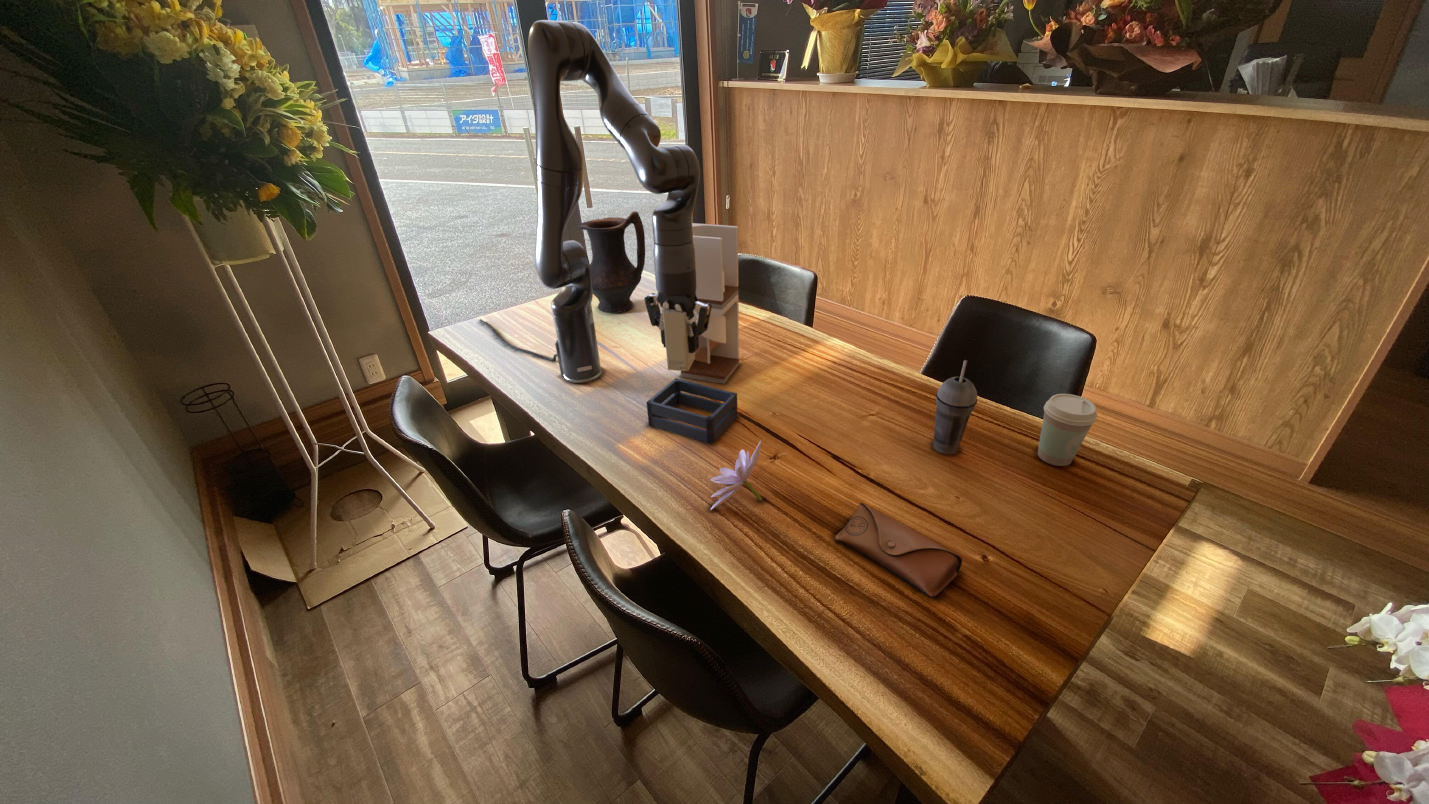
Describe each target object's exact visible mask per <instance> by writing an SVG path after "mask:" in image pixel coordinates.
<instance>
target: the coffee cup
mask: <svg viewBox="0 0 1429 804" xmlns="http://www.w3.org/2000/svg"><path fill="white" fill-rule="evenodd" d="M1043 411H1044V412H1043V419H1042V424H1041V429H1040V430H1041V431H1040V436H1039V442H1038V447H1037V448H1038V449H1037V456H1038V457H1039V459H1040V460H1042V461H1043V462H1045V463H1047V464H1049V465H1052V466H1058V467H1065V466H1069V465H1071V463H1072V462H1073V461H1074V458H1075V457H1076V455H1077V453H1078V451H1079V450H1080V448H1081V445H1082V444H1083V442H1084V440H1085V439H1086V437H1087V435H1088V433H1089V431H1090V430H1091V428H1092V426H1093V424H1095V423H1096V422H1097V419H1098V413H1097V406H1096V405H1095V403H1093V402H1092V401H1090V400H1089V399H1087V398H1085V397H1082V396H1080V395H1075V394H1070V393H1058V394H1057V393H1056V394H1054V395H1051V397H1050V398H1049V399H1048V400H1047V401H1046V402H1045V404H1044V405H1043Z"/></svg>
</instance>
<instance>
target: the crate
mask: <svg viewBox="0 0 1429 804" xmlns="http://www.w3.org/2000/svg"><path fill="white" fill-rule="evenodd" d="M680 404H681V405H685V406H687V407H692V408H695V409H699V410H703V411H706V412H710V413H712V414H711V415H708V416H707V415H703V414H699V413H697V412H692V411H688V410H684V409H681V408H677V407H676V406H677V405H680ZM646 412H647V419H648V426H649V427H653V428H655V429H659V430H662V431H666V432H669V433H673V434H676V435H679V436H683V437H685V438H689V439H692V440H696V441H700V442H703V443H707V444H709V445H713V444H714V443H715V441H717V439H718V438H720V436H721V435H722V434H723V433H724V432H725V431H726V430H727V428H729V426H730V425H731V424H732V423H734V421H735V420H736V419H737V418H738V392H732V391H729V390H725V389H721V388H717V387H712V386H710V385H704V384H701V383H697V382H693V381H689V380H685V379H682V378H676V377H675V378H674V379H673V380H671V381H670V382H669V383H668V384H667V385H666V386H664V387H662V389H660V390H659V391H658V392H657V393H656V394H654V395H653V396H652V397H650V399H648V400H647V401H646Z"/></svg>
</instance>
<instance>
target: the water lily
mask: <svg viewBox="0 0 1429 804" xmlns="http://www.w3.org/2000/svg"><path fill="white" fill-rule="evenodd" d="M761 447H762V440H760V441H759V442H758V445H757V446H756V448H755V450H754V451H753V452H752V455H751V457H750V454H749V451H747V452H746V451H745V449H741V450H740V451H739V453H738V455H737V459H736V460H735V462H734V469H732V468H729V467H720V468H719V472H720V474H719V475H716V476H714V477H712V478H710V481H712V482H713V483H715V484H719V485H729V486H725V487H723V488H721V489H719V490H717V491H715V492H714V493H713V494H712V495H711V496H710V498H715V497H719V496H720V497H719V498H718V499H717V500H716V501H715V503H714V504H713V505H712V506H711V507H710V510H709V511H712V510H714V509H715V508H717V507H719V506H721V505H723V504H724V503H726V502H727V501H728V500H730V498H731V497H733V496H734V495H735V494H736V493H737V492H738V491H739V490H740V489H741V488H742V487H743V485H745V486H746V487H747V488H748V489H749V490H750V491H751V492H752V494H753V495H754V496H755V497H756V499H757V500H758V501H759V502H761V501H763V497H762V496H761V495H760V493H759V492H757V490H756V489H755V488H754V487H753V486H752V485H751V484H750V483H749V482H748V481H747V480H749V478H750V477H751V475H752V474H753V472H754V469H755V467H756V464H757V463H758V460H759V457H760V453H761Z"/></svg>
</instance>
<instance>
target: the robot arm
mask: <svg viewBox="0 0 1429 804" xmlns="http://www.w3.org/2000/svg"><path fill="white" fill-rule="evenodd" d="M527 39H528V40H527V52H528V53H527V54H528V64H529V65H528V66H529V74H530V83H531V92H532V101H533V111H534V129H535V178H536V179H535V180H536V194H537V195H536V201H537V208H536V209H537V211H536V214H537V218H536V219H537V220H536V221H537V222H536V235H535V246H534V247H535V248H534V265H535V271H536V274H537V277H538V279H539V281H540V283H541V284H542V286H544V287H545V288H547V289H551V290H556V289H560V288H561V290H560V291H559V292H558V294H556V295H555V296H554V297H553V299H552V300H551V301H550V307H551V308H550V309H551V314H552V318H553V323H554V329H555V334H556V340H555V342H554V345H555V350H556V353H555V354H553V357H547V356H544V355H541V354H539V353H537V352H534V351H531V350H527V349H523V348H520V347H517V346H514V345H513V344H510V343H508V341H505V339H503V338H502V337H501V336H499V335H498V333H497V332H496V330H495V329H494V328H493V327H492V326H491V325H489V324H488V323H487V322H485V321H484V320H482V319H479V320H478V321H479V322H480V323H481V324H483V325H484V326H485V327H486V328H488V329H489V330H490V331H491V332H492V334H493V336H495V337H496V339H498V340H499V341H500V342H501V344H503V345H505V346H507V347H509V348H510V349H513V350H515V351H518V352H522V353H526V354H529V355H532V356H534V357H537V358H540V359H543V360H547V361H550V362H555V361H556V360H557V361H558V362H557V363H558V366H559V371H560V376H561V377H563V378H564V380H565V381H567V382H568V383H572V384H586V383H590V382H593V381H595V380H597V379H598V378H600V377H601V376H602V373H603V371H602V366H601V359H600V353H599V346H598V339H597V333H596V327H595V319H594V314H593V313H594V312H593V306H592V302H593V297H594V295H593V292H592V281H591V270H590V264H591V262H590V260H589V256H588V254H587V251H586V249H585V248H584V246H583V245H582V244H581V243H580V242H578V241H577V240H573V239H567V240H564V238H565V237H564V236H565V231H566V228H567V225H568V223H569V221H570V219H571V217H572V215H573V213H574V211H575V210H576V207H577V205H578V203H579V201H580V198H581V196H582V192H583V188H584V155H583V152H582V149H581V146H580V145H579V142H578V141H577V138H576V136H575V135H574V133H573V131H572V129H571V128H570V126H569V124H568V122H567V120H566V118H565V116H564V112H563V107H562V98H561V82H578V81H583V82H584V83H585V84H587V85H588V86H589V87H590V88H591V89H592V90H594V92H595V93H596V96H597V98H598V109H599V111H598V112H599V115H600V119H601V121H602V124H603V125H604V127H605V129H606V130H607V132H608V133H609V134H610V135H611V136H612V138H613V139H614V140H615V141H616V142H617V144H618V145H619V146H620V147H621V148H622V149H623V150H624V152H625V154H626V155H627V158H628V160H629V162H630V164H631V166H632V169H633V171H634V173H635V176H636V178H637V180H638V182H639V184H641V187H643V188H644V189H645V190H646V191H648V192H649V193H652V194H654V195H663V194H667V196H666V199H665V201H664V202H663V203H661V204H660V205H658V206H657V207H656V208H655V209H654V210H653V211H652V215H651V218H652V219H651V221H652V222H651V223H652V236H653V237H652V238H653V265H654V278H655V290H656V292H657V293H654V292H652V293H649V294H648V295H646V296H645V297H644V299H643V300H644V305H645V307H646V311H647V315H648V318H649V322H650V325H651V326H652V327H657V328H658V330H659V331H660V340H661V344H662V345H663V348H665V349H666V341H665V329H664V317H663V313H664V311H665V310H669V309H673V310H676V311H677V312H682V313H684V312H686V313H687V316H686V326H687V333H688V335H689V336H688V348H689V353H694V352H695V351H696V350H697V349H698V348H699V335H701V334H703V333H704V332H705V331H706V330H707V329H708V324H709V319H710V313H711V308H712V305H711V304H710V303H707V304H704V303H701V302H699V301H698V298H697V296H696V263H695V249H694V244H693V228H692V223H693V213H694V210H695V206H696V200H697V194H698V190H699V186H700V178H701V177H700V176H701V169H700V168H701V167H700V162H699V159H698V157H697V155H696V153H695V151H694V150H693V149H692V148H691V147H690V146H688V145H687V144H674V145H667V146H662V147H659V145H660V143H661V140H662V132H661V129H660V127H659V126H658V124H657V122H656V121H655V120H654V119H653V118H652V116H651V115H650V114H649V113H648V112H647V110H645V109H644V107H643V106H642V105H641V104H640V103H639V102H638V101H637V99H635V98H634V96H633V95H632V94H631V93H630V91H629V89H627V87H626V86H625V84H624V83H623V81H622V80H621V78H620V76H619V75H618V73H617V71H616V70H615V68H614V67H613V65H612V63H611V61H610V60H609V59H608V57H607V55H606V53H605V52H604V51H603V49H602V47H601V46H600V44H599V42H598V40H597V39H596V38H595V36H594V35H593V34H592V32H591V31H590V30H589V29H588V27H586V26H585V25H584V24H582V23H580V22H577V21H569V20H568V21H567V20H553V19H552V20H550V19H540V20H536V21H534V22H533V24H532V25H531V27H530V29H529V33H528V38H527ZM660 307H661V309H660ZM695 308H697V314H698V315H699V317H698V323H697V317H696V314H695V311H694V309H695ZM689 316H690V318H689V319H687V317H689Z"/></svg>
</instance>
